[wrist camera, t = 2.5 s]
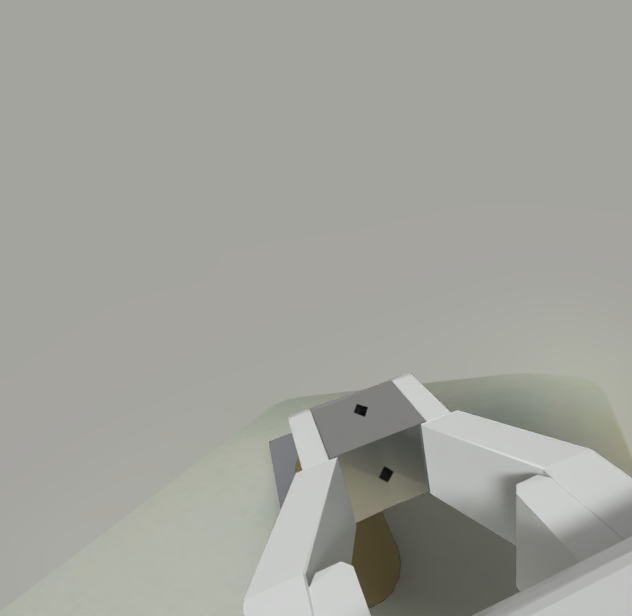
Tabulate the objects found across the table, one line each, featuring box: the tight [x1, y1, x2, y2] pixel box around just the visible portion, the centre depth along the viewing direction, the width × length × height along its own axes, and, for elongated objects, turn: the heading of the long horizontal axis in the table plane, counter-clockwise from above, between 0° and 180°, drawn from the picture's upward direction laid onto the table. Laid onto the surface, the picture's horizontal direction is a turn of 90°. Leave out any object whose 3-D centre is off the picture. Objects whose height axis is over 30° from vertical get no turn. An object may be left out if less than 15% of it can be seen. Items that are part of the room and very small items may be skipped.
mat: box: [269, 433, 299, 508], centre depth 34 cm, size 10×11×1 cm
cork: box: [295, 457, 401, 608], centre depth 23 cm, size 6×6×11 cm
